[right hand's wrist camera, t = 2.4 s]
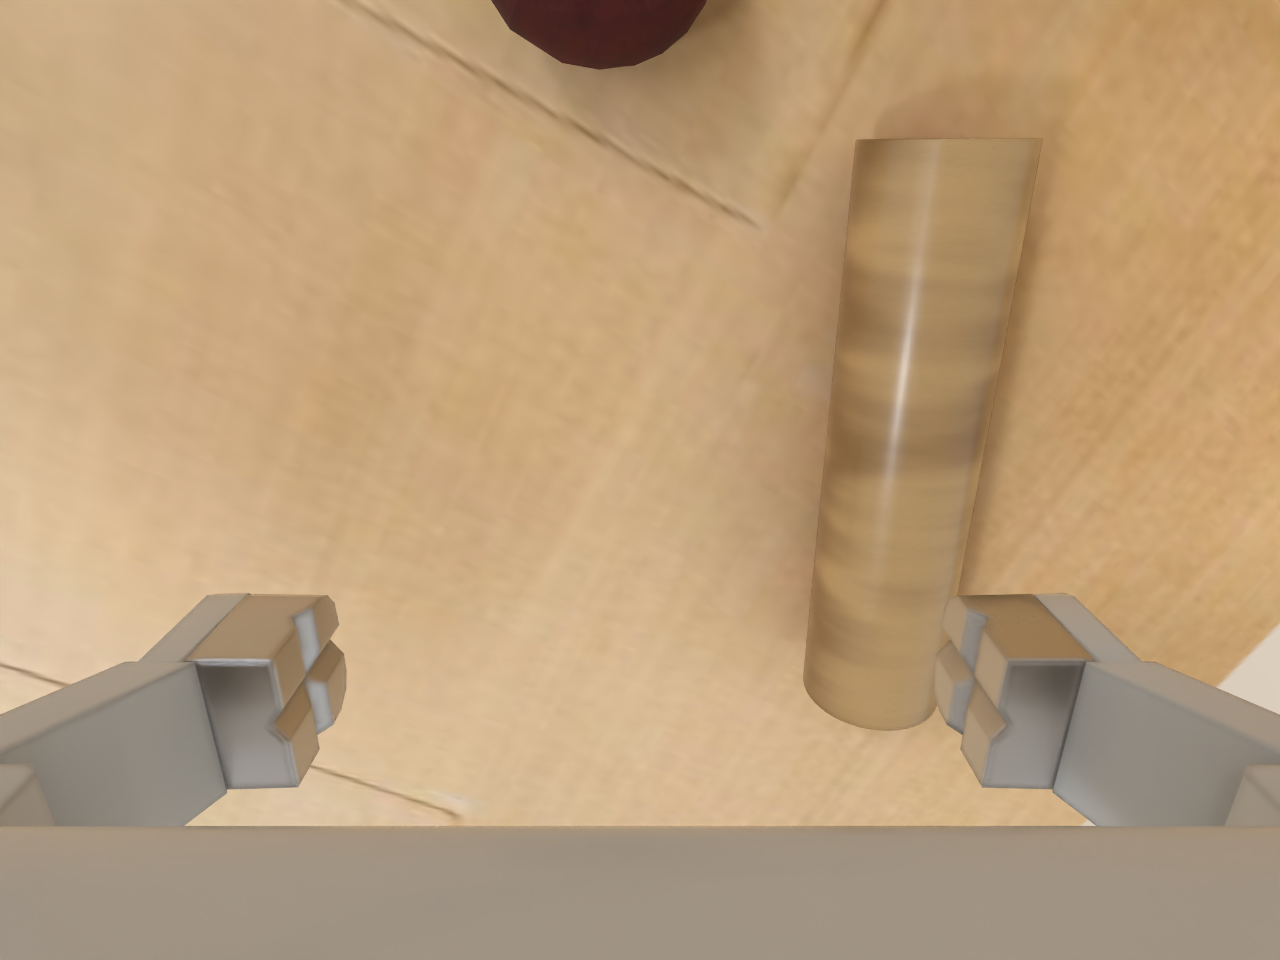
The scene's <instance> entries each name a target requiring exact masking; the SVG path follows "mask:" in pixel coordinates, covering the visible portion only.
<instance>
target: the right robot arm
mask: <svg viewBox="0 0 1280 960" xmlns="http://www.w3.org/2000/svg"><path fill="white" fill-rule="evenodd" d="M338 626H339V622H338V618H337V613H336V608H335V603H334V602H333V601H332V600H331V599H330V597H329V596H328V595H283V594H249V593H237V594H214V595H207V596H206V597H205V598H204V599H203V600H202V601H201V602H200V603H199V604H198V605H197V606H196V607H195V608H193V609H192V610H191V611H190V612H189V613H188V614H187V615H186V616H185V617H184V618H183V619H182V620H181V621H180V622H179V623H178V624H177V625H176V626H175V627H174V628H173V629H172V630H171V631H169V632H168V633H167V634H166V635H165V636H164V637H163V638H162V639H161V640H160V641H159V642H158V643H157V644H156V645H155V646H154V647H153V648H152V649H151V650H150V651H149V652H148V653H147V654H145V655H144V656H143V657H142V658H141V659H140V660H139V661H138V662H124V663H121V664H119V665H117V666H114V667H112V668H109V669H107V670H105V671H102V672H100V673H98V674H95V675H93V676H91V677H88V678H86V679H83V680H81V681H79V682H76V683H74V684H72V685H69V686H67V687H65V688H62V689H60V690H57V691H55V692H53V693H50V694H48V695H46V696H43V697H41V698H39V699H36V700H34V701H31V702H29V703H27V704H24V705H22V706H20V707H17V708H15V709H13V710H10V711H8V712H5V713H3V714H1V715H0V960H1280V715H1279V714H1277V713H1274V712H1272V711H1270V710H1267V709H1265V708H1262V707H1260V706H1258V705H1255V704H1253V703H1251V702H1248V701H1246V700H1244V699H1241V698H1239V697H1237V696H1234V695H1232V694H1229V693H1227V692H1225V691H1222V690H1220V689H1218V688H1215V687H1213V686H1211V685H1208V684H1206V683H1204V682H1201V681H1199V680H1196V679H1194V678H1192V677H1189V676H1187V675H1185V674H1182V673H1180V672H1178V671H1175V670H1173V669H1171V668H1168V667H1166V666H1163V665H1161V664H1159V663H1156V662H1142V661H1141V660H1140V659H1139V658H1138V657H1137V656H1136V655H1135V654H1134V653H1133V652H1132V651H1130V650H1129V649H1128V648H1127V647H1126V646H1125V645H1124V644H1123V643H1122V642H1121V641H1120V640H1119V639H1118V638H1117V637H1116V636H1115V635H1114V634H1113V633H1112V632H1111V631H1110V630H1109V629H1108V628H1107V627H1106V626H1104V625H1103V624H1102V623H1101V622H1100V621H1099V620H1098V619H1097V618H1096V617H1095V616H1094V615H1093V614H1092V613H1091V612H1090V611H1089V610H1088V609H1087V608H1086V607H1085V606H1084V605H1083V604H1082V603H1081V602H1080V601H1078V600H1077V599H1076V598H1075V597H1074V596H1072V595H1069V594H1065V593H1052V594H1015V595H973V596H953V597H949V599H948V601H947V603H946V605H945V607H944V611H943V617H942V622H941V626H942V627H943V629H944V630H945V632H946V633H947V635H948V636H949V638H950V640H949V641H948V642H947V643H946V644H945V645H944V646H943V647H942V648H941V649H940V650H939V651H938V652H937V653H936V659H935V667H934V674H933V678H934V689H935V697H936V701H937V704H938V707H939V710H940V713H941V715H942V716H943V718H944V720H945V722H946V724H947V725H948V726H950V727H951V728H953V729H954V730H956V731H958V732H959V733H961V734H962V735H963V737H962V743H961V748H960V749H961V751H962V753H963V754H964V756H965V758H966V760H967V761H968V763H969V765H970V767H971V768H972V770H973V772H974V774H975V776H976V777H977V779H978V781H979V783H980V784H981V786H982V787H987V788H1024V789H1053V793H1054V794H1055V795H1057V796H1058V797H1059V798H1061V799H1062V800H1063V801H1065V802H1066V803H1067V804H1069V805H1070V806H1071V807H1072V808H1074V809H1075V810H1076V811H1078V812H1079V813H1080V814H1082V815H1083V816H1084V817H1086V818H1087V819H1088V820H1089V821H1091V822H1092V823H1093V824H1095V825H1096V826H184V825H186V824H187V823H188V822H190V821H191V820H192V819H193V818H195V817H196V816H197V815H199V814H200V813H201V812H203V811H204V810H205V809H207V808H208V807H209V806H211V805H212V804H213V803H214V802H216V801H217V800H218V799H220V798H221V797H222V796H224V795H225V794H226V793H227V789H255V788H291V787H298V786H299V785H300V783H301V781H302V779H303V777H304V776H305V774H306V772H307V770H308V769H309V767H310V765H311V763H312V762H313V760H314V758H315V756H316V754H317V753H318V751H319V749H320V748H319V743H318V737H317V735H318V734H319V733H321V732H322V731H324V730H326V729H327V728H329V727H330V726H332V725H333V724H334V722H335V720H336V718H337V716H338V714H339V713H340V711H341V708H342V704H343V700H344V695H345V691H346V664H345V658H344V653H343V652H342V651H341V650H340V649H339V648H338V647H337V646H336V645H335V644H334V643H333V642H332V641H331V640H330V638H331V636H332V635H333V633H334V632H335V630H336V629H337V627H338Z"/></svg>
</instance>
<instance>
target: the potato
mask: <svg viewBox="0 0 1280 960" xmlns="http://www.w3.org/2000/svg"><path fill="white" fill-rule="evenodd" d="M492 2H493V4H494V5H495V7H496V8H497V10H498V11H499V13H500V14H501V16H502V18H503V19H504V21H505V22H506V24H507V25H508V27H509V28H510V30H512V31H514V32H515V33H517V34H518V35H520V36H521V37H523V38H524V39H526V40H528V41H529V42H531V43H532V44H534V45H535V46H537V47H538V48H540V49H541V50H543V51H545V52H546V53H548V54H549V55H551V56H552V57H554V58H555V59H557V60H559V61H560V62H562V63H566V64H572V65H577V66H583V67H589V68H594V69H599V70H600V69H607V68H615V67H622V66H633V65H636V64H639V63H641V62H643V61H646V60H648V59H650V58H653V57H655V56H657V55H660V54H662V53H663V52H664V51H666V50H667V49H668V48H669V47H670V46H671V45H673V44H674V43H675V42H676V41H677V40H679V39H680V38H681V37H682V36H683V35H684V34H686V33H687V31H688V30H689V28H690V27H691V25H692V24H693V22H694V20H695V19H696V17H697V16H698V14H699V13H700V11H701V10H702V8H703V7H704V5H705V3H706V0H492Z"/></svg>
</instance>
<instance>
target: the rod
mask: <svg viewBox="0 0 1280 960" xmlns="http://www.w3.org/2000/svg"><path fill="white" fill-rule="evenodd" d="M1041 146H1042V138H973V139H858V140H856V143H855V154H854V164H853V174H852V184H851V194H850V204H849V215H848V225H847V235H846V245H845V255H844V265H843V276H842V286H841V296H840V306H839V316H838V326H837V337H836V347H835V357H834V367H833V377H832V387H831V398H830V408H829V418H828V428H827V438H826V449H825V459H824V469H823V479H822V489H821V499H820V510H819V520H818V530H817V540H816V550H815V560H814V571H813V581H812V591H811V601H810V611H809V621H808V632H807V642H806V652H805V662H804V672H803V681H804V686H805V688H806V691H807V693H808V694H809V696H810V697H811V699H812V700H813V701H814V702H815V703H816V704H817V705H818V706H819V707H820V708H821V709H823V710H824V711H825V712H827V713H828V714H830V715H832V716H833V717H835V718H837V719H839V720H841V721H844V722H846V723H849V724H851V725H855V726H858V727H862V728H867V729H873V730H885V731H890V730H901V729H907V728H910V727H914V726H916V725H918V724H921V723H922V722H924V721H925V720H927V719H928V718H929V717H930V716H931V715H932V714H933V712H934V711H935V709H936V706H937V701H936V697H935V689H934V678H933V674H934V667H935V659H936V653H937V652H938V651H939V650H940V649H941V648H942V647H943V646H944V645H945V644H946V643H947V642H948V641H949V636H948V635H947V633H946V632H945V630H944V629H943V627H942V626H941V622H942V617H943V611H944V607H945V605H946V603H947V601H948V599H949V597H953V596H957V594H958V589H959V584H960V578H961V573H962V568H963V562H964V557H965V552H966V546H967V541H968V536H969V530H970V525H971V520H972V514H973V509H974V504H975V498H976V493H977V488H978V482H979V477H980V472H981V466H982V461H983V456H984V450H985V445H986V440H987V434H988V429H989V424H990V418H991V413H992V408H993V402H994V397H995V392H996V386H997V381H998V375H999V370H1000V365H1001V359H1002V354H1003V349H1004V343H1005V338H1006V333H1007V327H1008V322H1009V317H1010V311H1011V306H1012V301H1013V295H1014V290H1015V285H1016V279H1017V274H1018V269H1019V263H1020V258H1021V253H1022V247H1023V242H1024V237H1025V231H1026V226H1027V221H1028V215H1029V210H1030V205H1031V199H1032V194H1033V189H1034V183H1035V178H1036V173H1037V167H1038V162H1039V157H1040V151H1041Z"/></svg>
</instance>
